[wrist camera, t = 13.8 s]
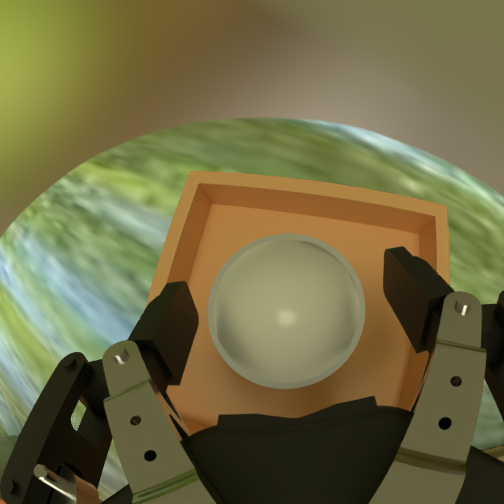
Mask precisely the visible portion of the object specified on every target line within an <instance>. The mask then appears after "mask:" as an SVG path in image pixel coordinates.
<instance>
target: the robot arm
mask: <svg viewBox="0 0 504 504" xmlns="http://www.w3.org/2000/svg"><path fill="white" fill-rule="evenodd" d="M383 290H384V295H385V297H386V299H387V301H388V303H389V304H390V306H391V308H392V309H393V311H394V313H395V315H396V316H397V318H398V320H399V322H400V324H401V325H402V327H403V329H404V331H405V333H406V335H407V336H408V338H409V340H410V342H411V344H412V346H413V348H414V350H415V352H416V354H417V353H421V352H424V351H428V353H429V357H428V360H427V363H426V366H425V370H424V373H423V376H422V379H421V382H420V385H419V388H418V390H417V393H416V396H415V399H414V401H413V403H412V406H411V408H410V410H409V411H408V410H406V409H402V408H399V407H393V406H383V405H379V406H377V403H376V400H375V396H370V397H365V398H361V399H357V400H352V401H347V402H342V403H337V404H334V405H332V406H330V407H327V408H324V409H322V410H319V411H317V412H314V413H311V414H308V415H306V416H303V417H299V418H287V417H278V416H271V415H263V414H257V413H254V414H219V416H218V422H217V425H215V426H211V427H208V428H205V429H202V430H200V431H197V432H196V433H194V434H192V433H191V432H190V431H189V429H188V428H187V426H186V424H185V423H184V421H183V419H182V418H181V416H180V414H179V412H178V411H177V409H176V407H175V405H174V403H173V402H172V400H171V398H170V396H169V394H168V393H167V392H166V390H167V387H168V385H172V386H180V383H181V380H182V376H183V373H184V370H185V367H186V363H187V360H188V357H189V354H190V351H191V347H192V344H193V341H194V338H195V335H196V332H197V329H198V325H199V316H198V311H197V309H196V306H195V303H194V301H193V298H192V295H191V293H190V290H189V287H188V285H187V283H186V282H185V281H177V282H170V283H166V285H165V286H164V288H163V290H162V291H161V293H160V295H159V296H157V297H155V298H154V299H153V300H152V301H151V302H150V303H149V304H148V306H147V307H146V309H145V311H144V313H143V314H142V316H141V317H140V320H139V321H138V322H137V324H136V326H135V328H134V329H133V331H132V333H131V335H130V336H129V338H128V340H125V341H121V342H118V343H116V344H114V345H112V346H111V347H110V348H108V350H107V351H106V352H105V353H104V355H103V359H100V360H96V361H92V362H88V360H87V359H86V357H85V356H84V355H83V354H82V353H80V352H74V353H71V354H69V355H67V356H66V357H64V358H63V359H62V360H61V361H60V362H59V364H58V366H57V367H56V369H55V370H54V372H53V374H52V375H51V377H50V379H49V380H48V382H47V384H46V386H45V387H44V389H43V391H42V393H41V394H40V396H39V398H38V400H37V402H36V403H35V405H34V407H33V409H32V411H31V413H30V415H29V417H28V419H27V421H26V423H25V425H24V427H23V429H22V431H21V433H20V435H19V437H17V436H9V437H0V504H504V462H503V461H501V460H499V459H497V458H495V457H493V456H491V455H489V454H487V453H485V452H483V451H481V450H479V449H477V448H476V447H474V446H472V445H471V443H472V439H473V435H474V431H475V427H476V423H477V418H478V413H479V408H480V403H481V397H482V391H483V384H484V379H485V381H486V383H487V385H488V387H489V389H490V391H491V393H492V395H493V398H494V400H495V402H496V404H497V407H498V409H499V411H500V414H501V416H502V419H503V421H504V291H502V292H501V293H500V295H499V298H498V301H497V304H483V305H481V303H480V301H479V300H478V299H477V298H476V297H475V296H473V295H472V294H469V293H466V292H455V291H454V290H453V289H452V288H451V287H450V285H449V284H448V283H447V282H446V281H445V280H444V279H443V278H442V277H441V276H440V275H438V273H437V272H436V271H435V269H433V267H432V266H431V265H430V264H429V263H428V262H427V261H425V260H423V259H421V258H419V257H417V256H413V255H412V254H411V253H410V252H409V251H408V250H407V249H406V248H405V247H404V246H400V247H394V248H389V249H386V250H385V252H384V269H383ZM78 400H80V402H81V403H82V404H83V405H84V406H85V407H86V408H87V409H86V411H85V413H84V416H83V418H82V420H81V423H80V425H79V428H78V430H77V431H76V430H75V429H74V428H73V427H72V424H71V416H72V413H73V411H74V409H75V407H76V405H77V402H78ZM112 438H113V440H114V443H115V447H116V450H117V453H118V456H119V459H120V461H121V464H122V467H123V470H124V472H125V475H126V478H127V480H128V483H129V484H128V485H126V486H125V487H123V488H122V489H121V490H119V491H118V492H116V493H115V494H114V495H112V496H111V497H109V498H108V499H106V500H105V501H103V500H102V499H100V498H99V495H98V491H97V488H98V485H99V481H100V477H101V474H102V470H103V467H104V464H105V460H106V457H107V454H108V450H109V447H110V444H111V441H112Z"/></svg>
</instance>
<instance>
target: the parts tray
mask: <svg viewBox="0 0 504 504" xmlns="http://www.w3.org/2000/svg"><path fill="white" fill-rule="evenodd" d="M285 233H292V234H302V235H306V236H310V237H313V238H316V239H319V240H321V241H323V242H325V243H327V244H329V245H330V246H332V247H333V248H335V249H336V250H337V251H338V252H339V253H341V254H342V255H343V256H344V257H345V258H346V260H347V261H348V262H349V263H350V264H351V266H352V267H353V269H354V270H355V272H356V274H357V276H358V278H359V280H360V283H361V286H362V289H363V293H364V299H365V321H364V326H363V330H362V334H361V336H360V339H359V341H358V344H357V345H356V347H355V349H354V351H353V352H352V354H351V355H350V356H349V358H348V359H347V361H346V362H345V363H344V364H343V365H342V366H341V367H340V368H339V369H337V370H336V371H335V372H334V373H332V374H331V375H330V376H328V377H326V378H324V379H323V380H321V381H319V382H316V383H314V384H311V385H308V386H304V387H300V388H293V389H277V388H270V387H265V386H262V385H259V384H256V383H254V382H252V381H249V380H247V379H246V378H244V377H243V376H241V375H239V374H238V373H237V372H236V371H234V370H233V369H232V368H231V367H230V366H229V365H228V364H227V363H226V362H225V360H224V359H223V358H222V356H221V355H220V353H219V352H218V350H217V348H216V346H215V344H214V342H213V339H212V336H211V333H210V329H209V324H208V302H209V296H210V292H211V289H212V286H213V283H214V281H215V279H216V277H217V275H218V273H219V272H220V270H221V269H222V267H223V266H224V265H225V263H226V262H227V261H228V260H229V259H230V258H231V257H232V256H233V255H234V254H235V253H236V252H237V251H239V250H240V249H241V248H243V247H244V246H246V245H247V244H249V243H251V242H253V241H255V240H258V239H260V238H263V237H266V236H270V235H275V234H285ZM400 246H404V247H405V248H406V249H407V250H408V251H409V252H410V253H411V254H412V255H413V256H417V257H419V258H421V259H423V260H425V261H427V262H428V263H429V264H430V265H431V266H432V267H433V269H435V271H436V272H437V273H438V275H440V276H441V277H442V278H443V279H444V280H445V281H446V282H447V283H448V284H449V285H450V252H449V232H448V219H447V209H446V206H445V205H441V204H437V203H433V202H429V201H424V200H420V199H415V198H411V197H406V196H401V195H396V194H391V193H386V192H381V191H376V190H370V189H364V188H358V187H352V186H346V185H339V184H333V183H326V182H318V181H311V180H303V179H294V178H285V177H276V176H265V175H254V174H241V173H226V172H207V171H190V174H189V176H188V179H187V182H186V184H185V187H184V189H183V192H182V195H181V197H180V200H179V203H178V206H177V208H176V211H175V214H174V217H173V220H172V222H171V225H170V228H169V231H168V234H167V237H166V240H165V243H164V246H163V250H162V253H161V256H160V259H159V262H158V266H157V269H156V272H155V276H154V279H153V283H152V286H151V290H150V293H149V297H148V301H147V304H146V307H147V306H148V304H149V303H150V302H151V301H152V300H153V299H154V298H155V297H157V296H159V295H160V293H161V291H162V290H163V288H164V286H165V285H166V283H170V282H177V281H185V282H186V283H187V285H188V287H189V290H190V293H191V295H192V298H193V301H194V303H195V306H196V309H197V311H198V316H199V325H198V329H197V332H196V335H195V338H194V341H193V344H192V347H191V351H190V354H189V357H188V360H187V363H186V367H185V370H184V373H183V376H182V380H181V383H180V386H172V385H168V387H167V390H166V392H167V393H168V394H169V396H170V398H171V400H172V402H173V403H174V405H175V407H176V409H177V411H178V412H179V414H180V416H181V418H182V419H183V421H184V423H185V424H186V426H187V428H188V429H189V431H190V432H191V433H192V434H194V433H196V432H197V431H200V430H202V429H205V428H208V427H211V426H215V425H217V422H218V416H219V414H254V413H257V414H263V415H271V416H278V417H287V418H299V417H303V416H306V415H308V414H311V413H314V412H317V411H319V410H322V409H324V408H327V407H330V406H332V405H334V404H337V403H342V402H347V401H352V400H357V399H361V398H365V397H370V396H375V400H376V403H377V406H379V405H383V406H393V407H399V408H402V409H406V410H408V411H409V410H410V408H411V406H412V403H413V401H414V399H415V396H416V393H417V390H418V388H419V385H420V382H421V379H422V376H423V373H424V370H425V366H426V363H427V360H428V357H429V353H428V351H424V352H421V353H417V354H416V352H415V350H414V348H413V346H412V344H411V342H410V340H409V338H408V336H407V335H406V333H405V331H404V329H403V327H402V325H401V324H400V322H399V320H398V318H397V316H396V315H395V313H394V311H393V309H392V308H391V306H390V304H389V303H388V301H387V299H386V297H385V295H384V290H383V269H384V252H385V250H386V249H389V248H394V247H400ZM145 309H146V308H145Z"/></svg>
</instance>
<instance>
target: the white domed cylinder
mask: <svg viewBox="0 0 504 504" xmlns="http://www.w3.org/2000/svg"><path fill="white" fill-rule="evenodd" d="M364 321H365V299H364V293H363V289H362V286H361V283H360V280H359V278H358V276H357V274H356V272H355V270H354V269H353V267H352V266H351V264H350V263H349V262H348V261H347V260H346V258H345V257H344V256H343V255H342V254H341V253H339V252H338V251H337V250H336V249H335V248H333V247H332V246H330V245H329V244H327V243H325V242H323V241H321V240H319V239H316V238H313V237H310V236H306V235H302V234H292V233H285V234H275V235H270V236H266V237H263V238H260V239H258V240H255V241H253V242H251V243H249V244H247V245H246V246H244V247H243V248H241V249H240V250H239V251H237V252H236V253H235V254H234V255H233V256H232V257H231V258H230V259H229V260H228V261H227V262H226V263H225V265H224V266H223V267H222V269H221V270H220V272H219V273H218V275H217V277H216V279H215V281H214V283H213V286H212V289H211V292H210V296H209V302H208V324H209V329H210V333H211V336H212V339H213V342H214V344H215V346H216V348H217V350H218V352H219V353H220V355H221V356H222V358H223V359H224V360H225V362H226V363H227V364H228V365H229V366H230V367H231V368H232V369H233V370H234V371H236V372H237V373H238V374H239V375H241V376H243V377H244V378H246V379H247V380H249V381H252V382H254V383H256V384H259V385H262V386H265V387H270V388H277V389H293V388H300V387H304V386H308V385H311V384H314V383H316V382H319V381H321V380H323V379H324V378H326V377H328V376H330V375H331V374H332V373H334V372H335V371H336V370H337V369H339V368H340V367H341V366H342V365H343V364H344V363H345V362H346V361H347V359H348V358H349V356H350V355H351V354H352V352H353V351H354V349H355V347H356V345H357V344H358V341H359V339H360V336H361V334H362V330H363V326H364Z"/></svg>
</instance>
